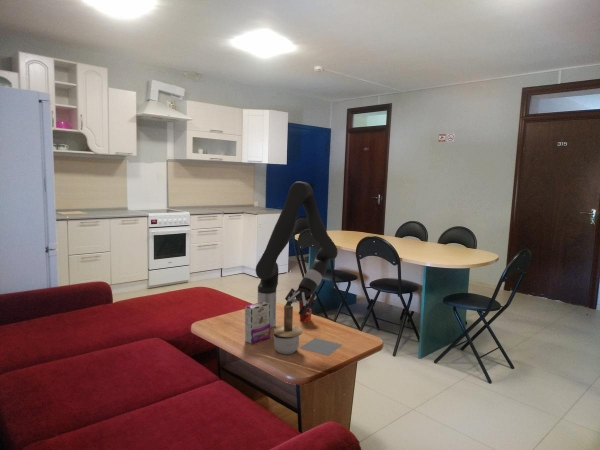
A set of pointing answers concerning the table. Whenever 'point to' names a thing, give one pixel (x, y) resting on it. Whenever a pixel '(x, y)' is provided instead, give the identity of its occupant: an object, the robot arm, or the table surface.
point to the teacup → (286, 344)
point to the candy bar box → (257, 322)
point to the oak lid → (288, 325)
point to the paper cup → (307, 314)
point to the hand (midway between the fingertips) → (292, 312)
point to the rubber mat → (321, 346)
